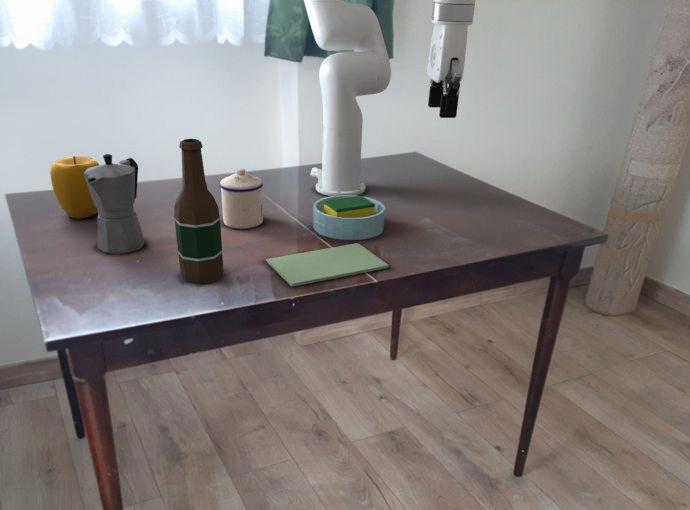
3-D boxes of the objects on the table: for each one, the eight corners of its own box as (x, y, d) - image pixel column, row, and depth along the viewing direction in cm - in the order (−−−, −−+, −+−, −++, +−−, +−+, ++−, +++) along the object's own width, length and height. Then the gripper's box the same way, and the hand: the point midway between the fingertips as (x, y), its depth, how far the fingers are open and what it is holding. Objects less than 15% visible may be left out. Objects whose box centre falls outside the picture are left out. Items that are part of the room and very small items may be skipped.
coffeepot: (123, 261, 120) (108, 165, 110) (81, 254, 122) (62, 160, 113) (164, 233, 132) (154, 145, 123) (125, 227, 135) (112, 141, 125)
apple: (111, 220, 138) (101, 161, 131) (58, 225, 135) (46, 165, 128) (107, 204, 147) (98, 148, 140) (58, 209, 144) (46, 152, 137)
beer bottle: (182, 266, 118) (169, 134, 105) (224, 266, 119) (216, 134, 106) (178, 285, 111) (162, 146, 99) (222, 284, 112) (213, 146, 100)
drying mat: (291, 286, 112) (291, 283, 111) (266, 261, 121) (266, 258, 120) (388, 268, 119) (388, 265, 119) (357, 245, 128) (358, 242, 128)
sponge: (336, 234, 132) (337, 209, 129) (323, 225, 137) (324, 200, 134) (373, 228, 136) (374, 203, 133) (359, 219, 140) (361, 195, 137)
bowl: (299, 231, 135) (299, 208, 132) (337, 212, 145) (338, 190, 143) (360, 247, 128) (361, 224, 125) (396, 226, 138) (397, 204, 136)
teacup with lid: (271, 224, 138) (270, 171, 132) (234, 232, 133) (231, 178, 127) (244, 209, 146) (242, 158, 140) (209, 216, 142) (205, 164, 135)
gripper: (422, 10, 123) (414, 103, 132) (444, 18, 108) (432, 121, 117) (460, 11, 123) (449, 103, 132) (486, 19, 109) (472, 122, 118)
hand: (441, 112), depth 125 cm, fingers open, 9 cm apart
